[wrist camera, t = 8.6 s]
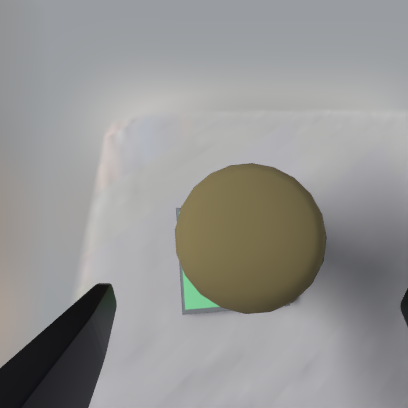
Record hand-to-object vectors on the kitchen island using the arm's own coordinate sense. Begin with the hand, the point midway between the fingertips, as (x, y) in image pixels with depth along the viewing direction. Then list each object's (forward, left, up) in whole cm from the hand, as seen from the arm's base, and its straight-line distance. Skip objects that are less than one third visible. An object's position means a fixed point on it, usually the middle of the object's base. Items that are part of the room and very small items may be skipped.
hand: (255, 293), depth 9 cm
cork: (+2, 0, -10) cm, 11 cm away
